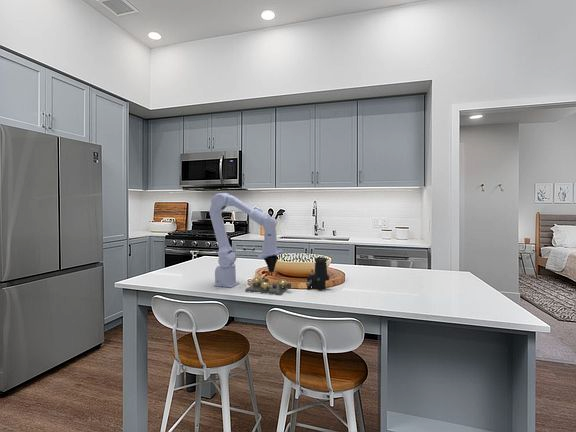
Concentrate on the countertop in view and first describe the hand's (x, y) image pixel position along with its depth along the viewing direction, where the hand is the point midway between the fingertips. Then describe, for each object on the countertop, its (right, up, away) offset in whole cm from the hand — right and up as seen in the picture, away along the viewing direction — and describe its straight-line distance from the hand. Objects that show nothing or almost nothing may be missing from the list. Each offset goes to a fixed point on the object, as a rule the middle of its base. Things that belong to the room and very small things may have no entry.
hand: (271, 271), depth 155 cm
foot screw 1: (-5, -6, -2) cm, 8 cm away
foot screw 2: (+7, -6, -8) cm, 12 cm away
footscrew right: (-1, -6, -9) cm, 11 cm away
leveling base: (-1, -7, -6) cm, 9 cm away
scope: (+22, -7, -5) cm, 24 cm away
